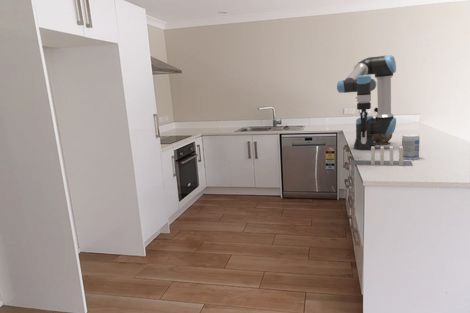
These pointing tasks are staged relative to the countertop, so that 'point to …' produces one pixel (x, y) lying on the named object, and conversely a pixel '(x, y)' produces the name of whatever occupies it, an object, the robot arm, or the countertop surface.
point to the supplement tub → (410, 146)
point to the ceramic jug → (381, 136)
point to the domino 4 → (400, 155)
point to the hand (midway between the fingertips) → (363, 141)
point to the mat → (386, 163)
